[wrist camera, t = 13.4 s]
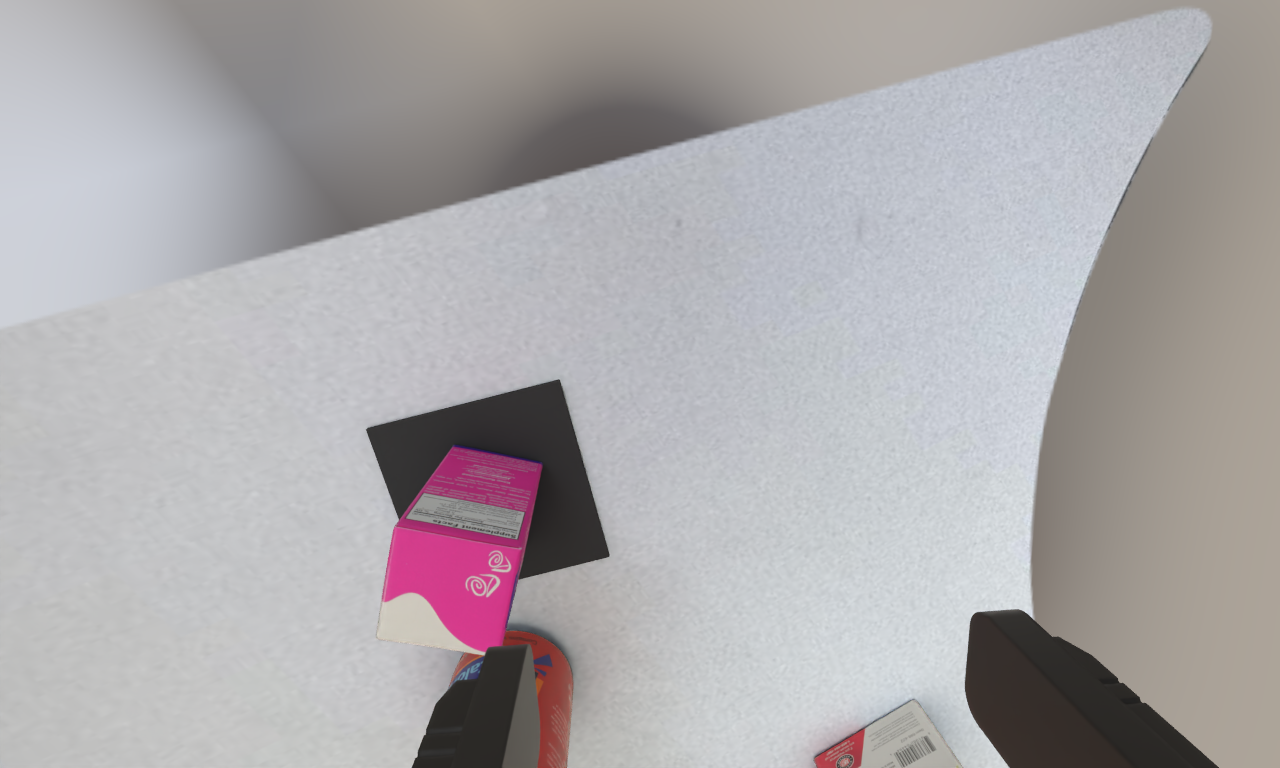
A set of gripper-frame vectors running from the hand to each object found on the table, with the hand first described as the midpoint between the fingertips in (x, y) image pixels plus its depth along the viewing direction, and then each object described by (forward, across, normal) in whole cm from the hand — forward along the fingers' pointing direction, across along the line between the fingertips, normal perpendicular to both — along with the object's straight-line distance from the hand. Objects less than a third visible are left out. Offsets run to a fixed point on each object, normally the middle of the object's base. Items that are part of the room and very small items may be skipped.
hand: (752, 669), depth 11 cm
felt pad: (+27, +11, +8) cm, 30 cm away
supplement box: (+26, +11, +8) cm, 30 cm away
